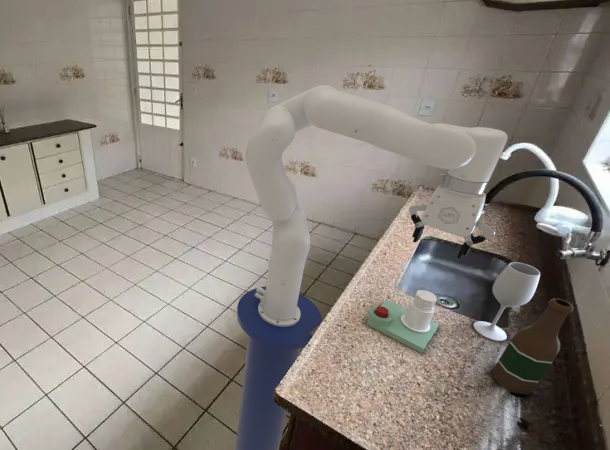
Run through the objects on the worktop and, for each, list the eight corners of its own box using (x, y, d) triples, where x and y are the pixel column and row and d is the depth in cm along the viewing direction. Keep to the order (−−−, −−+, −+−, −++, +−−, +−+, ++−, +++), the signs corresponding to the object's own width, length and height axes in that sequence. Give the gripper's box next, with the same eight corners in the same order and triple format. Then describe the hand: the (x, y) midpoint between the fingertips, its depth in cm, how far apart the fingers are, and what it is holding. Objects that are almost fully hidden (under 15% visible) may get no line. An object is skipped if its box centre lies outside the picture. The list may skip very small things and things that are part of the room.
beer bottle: (536, 402, 78) (596, 321, 66) (492, 386, 81) (542, 307, 70) (529, 376, 83) (583, 298, 72) (488, 362, 87) (533, 286, 76)
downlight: (421, 338, 92) (434, 309, 87) (394, 322, 97) (405, 294, 92) (435, 325, 96) (448, 296, 91) (408, 310, 101) (419, 283, 96)
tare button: (373, 314, 98) (374, 309, 97) (377, 309, 100) (379, 304, 99) (384, 319, 96) (386, 315, 95) (388, 314, 98) (390, 310, 97)
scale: (362, 322, 99) (365, 313, 98) (381, 301, 107) (384, 292, 105) (421, 353, 90) (425, 343, 88) (437, 328, 97) (441, 319, 96)
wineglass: (487, 342, 93) (523, 278, 83) (466, 321, 99) (496, 260, 90) (514, 341, 93) (554, 277, 83) (491, 320, 100) (525, 259, 90)
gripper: (416, 177, 82) (394, 239, 90) (509, 201, 71) (475, 269, 79) (427, 170, 87) (405, 230, 95) (516, 191, 75) (483, 257, 83)
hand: (437, 248), depth 87 cm, fingers open, 9 cm apart
